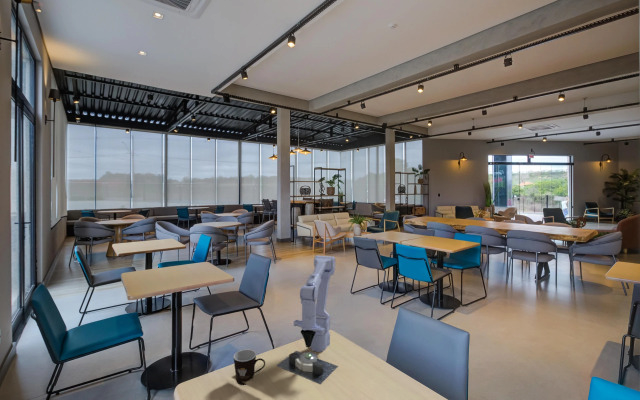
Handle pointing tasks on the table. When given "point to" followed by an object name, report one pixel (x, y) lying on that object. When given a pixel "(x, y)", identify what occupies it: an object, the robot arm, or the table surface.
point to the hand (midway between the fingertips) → (308, 346)
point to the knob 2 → (313, 368)
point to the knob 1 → (295, 360)
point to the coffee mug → (245, 365)
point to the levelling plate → (308, 374)
